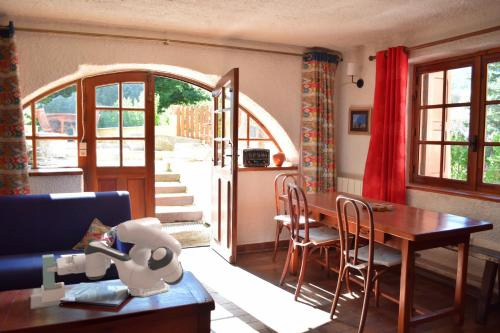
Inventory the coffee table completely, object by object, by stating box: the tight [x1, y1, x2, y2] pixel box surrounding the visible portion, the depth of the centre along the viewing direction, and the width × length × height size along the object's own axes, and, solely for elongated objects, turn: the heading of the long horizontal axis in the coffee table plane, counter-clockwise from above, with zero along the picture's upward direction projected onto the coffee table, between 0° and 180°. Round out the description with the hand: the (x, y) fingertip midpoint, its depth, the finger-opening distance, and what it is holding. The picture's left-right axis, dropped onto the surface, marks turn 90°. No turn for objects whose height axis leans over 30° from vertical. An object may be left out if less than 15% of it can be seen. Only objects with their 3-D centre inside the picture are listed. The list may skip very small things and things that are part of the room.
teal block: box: [41, 253, 56, 288], centre depth 208 cm, size 5×5×15 cm
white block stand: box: [30, 281, 72, 310], centre depth 212 cm, size 20×18×6 cm
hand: (46, 267), depth 208 cm, fingers closed on teal block, 5 cm apart
